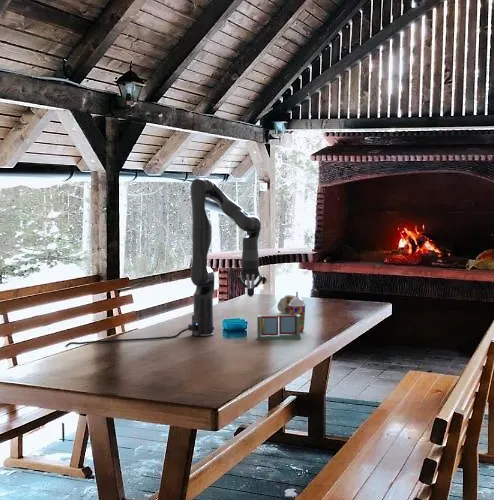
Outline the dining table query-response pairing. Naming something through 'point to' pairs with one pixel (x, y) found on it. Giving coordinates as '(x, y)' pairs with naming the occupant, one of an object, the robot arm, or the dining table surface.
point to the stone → (285, 303)
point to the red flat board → (269, 325)
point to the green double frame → (283, 328)
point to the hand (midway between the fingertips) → (250, 296)
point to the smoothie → (298, 309)
